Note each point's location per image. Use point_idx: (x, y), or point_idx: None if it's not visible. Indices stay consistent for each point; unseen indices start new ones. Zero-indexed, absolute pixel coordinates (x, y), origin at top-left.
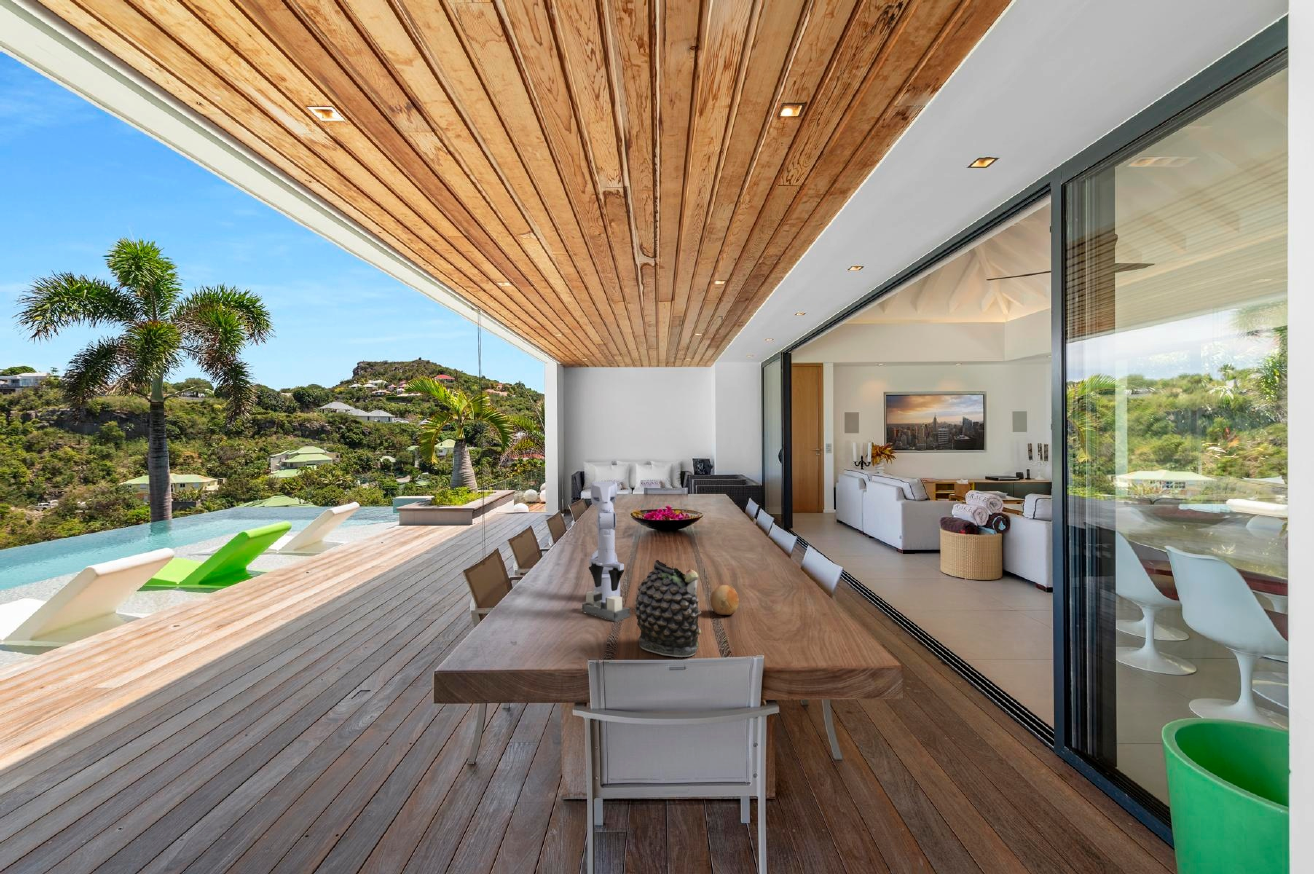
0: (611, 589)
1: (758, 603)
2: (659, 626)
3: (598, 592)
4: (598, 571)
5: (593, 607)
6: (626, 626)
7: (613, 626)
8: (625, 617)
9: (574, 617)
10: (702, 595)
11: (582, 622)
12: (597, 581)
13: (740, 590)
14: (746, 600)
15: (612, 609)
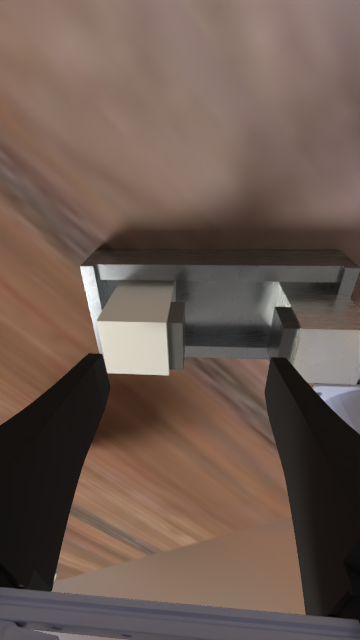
0: (97, 358)
1: None
2: None
3: (296, 368)
4: (311, 510)
5: (257, 266)
6: (7, 232)
7: (40, 189)
8: None
9: (325, 150)
10: (130, 531)
11: (215, 110)
12: (281, 399)
13: (102, 565)
14: None
15: (129, 290)
